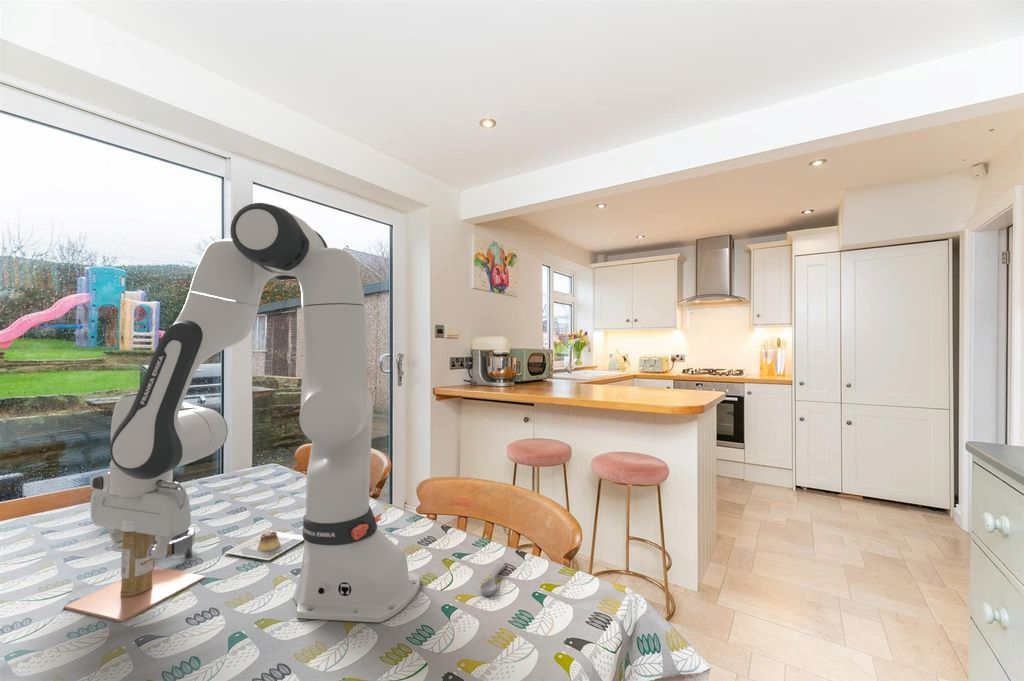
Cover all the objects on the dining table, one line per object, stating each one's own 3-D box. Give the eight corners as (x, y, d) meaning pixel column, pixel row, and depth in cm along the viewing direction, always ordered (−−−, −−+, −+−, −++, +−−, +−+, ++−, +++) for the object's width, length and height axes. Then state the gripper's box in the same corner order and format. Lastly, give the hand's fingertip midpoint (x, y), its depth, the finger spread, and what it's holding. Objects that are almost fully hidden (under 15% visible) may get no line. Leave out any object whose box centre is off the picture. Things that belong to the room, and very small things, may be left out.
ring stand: (204, 550, 94) (204, 529, 94) (158, 571, 84) (158, 549, 85) (172, 544, 96) (172, 524, 96) (123, 565, 87) (124, 543, 87)
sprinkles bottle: (150, 592, 77) (152, 517, 77) (116, 600, 74) (119, 523, 74) (154, 581, 80) (156, 509, 81) (122, 588, 78) (124, 514, 78)
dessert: (268, 534, 103) (269, 514, 103) (309, 540, 100) (310, 520, 100) (223, 557, 92) (224, 535, 92) (268, 565, 88) (269, 542, 89)
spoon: (477, 598, 77) (477, 586, 77) (494, 570, 88) (494, 560, 88) (493, 600, 76) (493, 588, 76) (508, 571, 88) (508, 561, 88)
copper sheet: (205, 578, 82) (205, 576, 82) (122, 622, 69) (122, 620, 69) (152, 567, 86) (152, 565, 86) (63, 608, 72) (63, 605, 72)
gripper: (201, 478, 78) (200, 553, 78) (122, 469, 84) (120, 539, 83) (166, 488, 72) (163, 570, 72) (82, 478, 78) (80, 554, 77)
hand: (139, 554), depth 78 cm, fingers open, 8 cm apart
